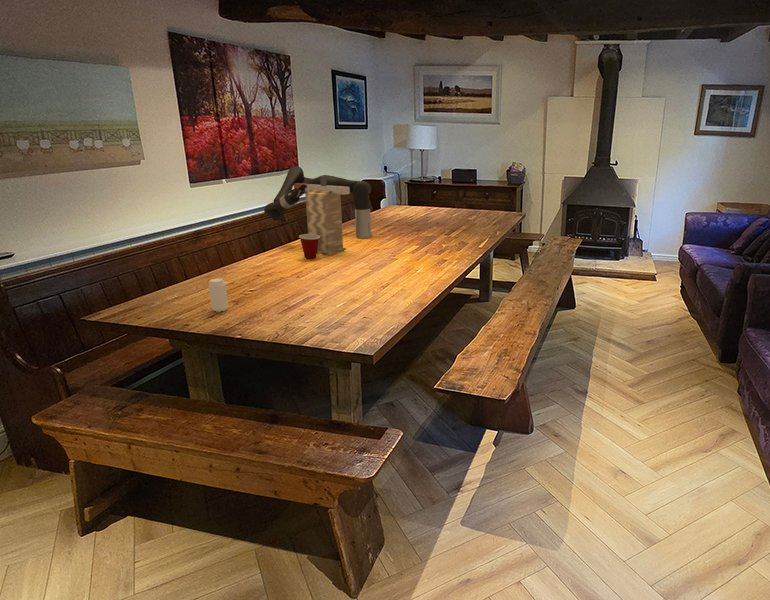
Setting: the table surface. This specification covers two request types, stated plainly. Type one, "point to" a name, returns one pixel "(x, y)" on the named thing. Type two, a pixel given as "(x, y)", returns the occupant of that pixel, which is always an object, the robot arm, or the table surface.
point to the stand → (325, 220)
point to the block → (324, 187)
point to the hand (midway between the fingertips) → (307, 185)
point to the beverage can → (218, 295)
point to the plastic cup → (309, 245)
